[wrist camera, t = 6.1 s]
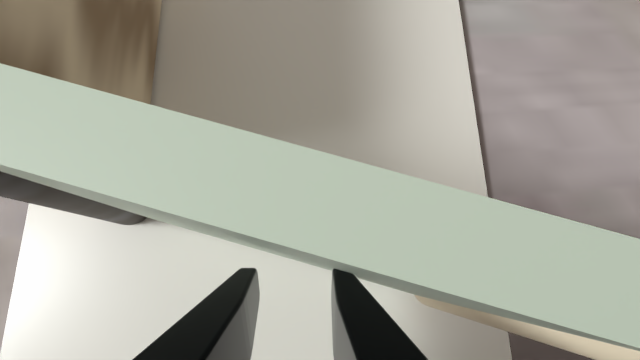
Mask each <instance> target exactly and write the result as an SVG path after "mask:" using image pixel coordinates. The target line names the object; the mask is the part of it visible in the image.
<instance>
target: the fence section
mask: <svg viewBox="0 0 640 360" xmlns="http://www.w3.org/2000/svg"><path fill="white" fill-rule="evenodd" d="M161 4H162V0H0V63H1V64H5V65H8V66H12V67H16V68H19V69H23V70H27V71H30V72H34V73H38V74H41V75H45V76H48V77H52V78H56V79H59V80H63V81H67V82H70V83H74V84H78V85H81V86H85V87H89V88H92V89H96V90H99V91H103V92H107V93H110V94H114V95H118V96H121V97H125V98H129V99H132V100H136V101H139V102H143V103H147V104H151V95H152V86H153V77H154V68H155V59H156V50H157V41H158V32H159V22H160V13H161ZM0 196H1V197H5V198H10V199H14V200H18V201H23V202H27V203H31V204H35V205H40V206H44V207H48V208H53V209H57V210H61V211H66V212H70V213H74V214H78V215H83V216H87V217H91V218H96V219H100V220H104V221H109V222H113V223H117V224H122V225H134V224H137V223H140V222H142V221H143V220H145V219H146V218H148V217H145V216H141V215H138V214H135V213H132V212H129V211H125V210H122V209H119V208H116V207H113V206H110V205H106V204H103V203H100V202H97V201H94V200H90V199H87V198H84V197H81V196H78V195H74V194H71V193H68V192H65V191H62V190H59V189H55V188H52V187H49V186H46V185H43V184H39V183H36V182H33V181H30V180H27V179H23V178H20V177H17V176H14V175H11V174H8V173H4V172H1V171H0Z"/></svg>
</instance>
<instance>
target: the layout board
mask: <svg viewBox="0 0 640 360" xmlns="http://www.w3.org/2000/svg"><path fill="white" fill-rule="evenodd" d="M150 105H154V106H158V107H161V108H165V109H169V110H172V111H176V112H179V113H183V114H187V115H190V116H194V117H198V118H201V119H205V120H209V121H212V122H216V123H220V124H223V125H227V126H230V127H234V128H238V129H241V130H245V131H249V132H252V133H256V134H260V135H263V136H267V137H270V138H274V139H278V140H281V141H285V142H289V143H292V144H296V145H300V146H303V147H307V148H310V149H314V150H318V151H321V152H325V153H329V154H332V155H336V156H340V157H343V158H347V159H351V160H354V161H358V162H361V163H365V164H369V165H372V166H376V167H380V168H383V169H387V170H391V171H394V172H398V173H401V174H405V175H409V176H412V177H416V178H420V179H423V180H427V181H431V182H434V183H438V184H441V185H445V186H449V187H452V188H456V189H460V190H463V191H467V192H471V193H474V194H478V195H481V196H485V197H488V195H487V188H486V181H485V174H484V168H483V161H482V154H481V148H480V141H479V134H478V127H477V121H476V114H475V107H474V101H473V94H472V87H471V80H470V74H469V67H468V60H467V54H466V47H465V40H464V33H463V27H462V20H461V13H460V7H459V0H162V4H161V13H160V22H159V32H158V41H157V50H156V59H155V68H154V77H153V86H152V95H151V104H150ZM240 268H256V269H257V272H258V281H259V290H260V300H259V308H258V315H257V322H256V329H255V336H254V343H253V349H252V355H251V359H250V360H334V356H333V339H332V309H331V285H332V271H331V270H327V269H324V268H320V267H317V266H313V265H310V264H307V263H303V262H300V261H296V260H293V259H289V258H286V257H282V256H279V255H275V254H272V253H268V252H265V251H262V250H258V249H255V248H251V247H248V246H244V245H241V244H237V243H234V242H230V241H227V240H223V239H220V238H217V237H213V236H210V235H206V234H203V233H199V232H196V231H192V230H189V229H185V228H182V227H178V226H175V225H172V224H168V223H165V222H161V221H158V220H154V219H151V218H146V219H145V220H143V221H142V222H140V223H137V224H134V225H122V224H117V223H113V222H109V221H104V220H100V219H96V218H91V217H87V216H83V215H78V214H74V213H70V212H66V211H61V210H57V209H53V208H48V207H44V206H40V205H35V204H31V203H29V206H28V212H27V217H26V222H25V227H24V232H23V238H22V243H21V248H20V253H19V258H18V264H17V269H16V274H15V279H14V285H13V290H12V295H11V300H10V305H9V311H8V316H7V321H6V326H5V331H4V337H3V342H2V347H1V352H0V360H132V359H133V358H135V357H136V356H137V355H138V354H139V353H141V352H142V351H143V350H144V349H145V348H146V347H148V346H149V345H150V344H151V343H152V342H154V341H155V340H156V339H157V338H158V337H159V336H161V335H162V334H163V333H164V332H165V331H167V330H168V329H169V328H170V327H171V326H172V325H174V324H175V323H176V322H177V321H178V320H180V319H181V318H182V317H183V316H184V315H185V314H187V313H188V312H189V311H190V310H191V309H193V308H194V307H195V306H196V305H197V304H198V303H200V302H201V301H202V300H203V299H204V298H206V297H207V296H208V295H209V294H210V293H211V292H213V291H214V290H215V289H216V288H217V287H219V286H220V285H221V284H222V283H223V282H224V281H226V280H227V279H228V278H229V277H230V276H232V275H233V274H234V273H235V272H236V271H238V270H239V269H240ZM357 279H358V278H357ZM358 280H359V281H360V282H361V283H362V284H363V286H364V287H365V288H366V289H367V290H368V291H369V292H370V294H371V295H372V296H373V297H374V298H375V299H376V300H377V302H378V303H379V304H380V305H381V306H382V307H383V308H384V310H385V311H386V312H387V313H388V314H389V315H390V316H391V318H392V319H393V320H394V321H395V322H396V323H397V324H398V326H399V327H400V328H401V329H402V330H403V331H404V332H405V334H406V335H407V336H408V337H409V338H410V339H411V340H412V342H413V343H414V344H415V345H416V346H417V347H418V348H419V349H420V351H421V352H422V353H423V354H424V355H425V356H426V357H427V359H428V360H512V356H511V349H510V342H509V336H508V332H507V331H504V330H501V329H498V328H494V327H491V326H488V325H485V324H482V323H479V322H476V321H473V320H470V319H466V318H463V317H460V316H457V315H454V314H451V313H448V312H445V311H441V310H438V309H435V308H432V307H429V306H426V305H424V304H422V303H421V302H420V301H418V300H417V298H416V297H415V295H414V294H410V293H407V292H404V291H400V290H397V289H393V288H390V287H386V286H383V285H379V284H376V283H372V282H369V281H365V280H362V279H358Z"/></svg>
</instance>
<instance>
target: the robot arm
mask: <svg viewBox="0 0 640 360" xmlns="http://www.w3.org/2000/svg"><path fill="white" fill-rule="evenodd" d="M259 300H260V290H259V281H258V272H257V269H256V268H240V269H239V270H238V271H236V272H235V273H234V274H233V275H232V276H230V277H229V278H228V279H227V280H226V281H224V282H223V283H222V284H221V285H220V286H219V287H217V288H216V289H215V290H214V291H213V292H211V293H210V294H209V295H208V296H207V297H206V298H204V299H203V300H202V301H201V302H200V303H198V304H197V305H196V306H195V307H194V308H193V309H191V310H190V311H189V312H188V313H187V314H185V315H184V316H183V317H182V318H181V319H180V320H178V321H177V322H176V323H175V324H174V325H172V326H171V327H170V328H169V329H168V330H167V331H165V332H164V333H163V334H162V335H161V336H159V337H158V338H157V339H156V340H155V341H154V342H152V343H151V344H150V345H149V346H148V347H146V348H145V349H144V350H143V351H142V352H141V353H139V354H138V355H137V356H136V357H135V358H133V359H132V360H250V359H251V355H252V349H253V343H254V336H255V329H256V322H257V315H258V308H259ZM331 309H332V339H333V356H334V360H428V359H427V357H426V356H425V355H424V354H423V353H422V352H421V351H420V349H419V348H418V347H417V346H416V345H415V344H414V343H413V342H412V340H411V339H410V338H409V337H408V336H407V335H406V334H405V332H404V331H403V330H402V329H401V328H400V327H399V326H398V324H397V323H396V322H395V321H394V320H393V319H392V318H391V316H390V315H389V314H388V313H387V312H386V311H385V310H384V308H383V307H382V306H381V305H380V304H379V303H378V302H377V300H376V299H375V298H374V297H373V296H372V295H371V294H370V292H369V291H368V290H367V289H366V288H365V287H364V286H363V284H362V283H361V282H360V281H359V280H358V279H357V278H356V276H355V275H354V274H353V273H349V272H345V271H342V270H338V269H335V268H334V269H333V270H332V285H331Z"/></svg>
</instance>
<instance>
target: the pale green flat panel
mask: <svg viewBox="0 0 640 360" xmlns="http://www.w3.org/2000/svg"><path fill="white" fill-rule="evenodd" d="M0 171H1V172H4V173H8V174H11V175H14V176H17V177H20V178H23V179H27V180H30V181H33V182H36V183H39V184H43V185H46V186H49V187H52V188H55V189H59V190H62V191H65V192H68V193H71V194H74V195H78V196H81V197H84V198H87V199H90V200H94V201H97V202H100V203H103V204H106V205H110V206H113V207H116V208H119V209H122V210H125V211H129V212H132V213H135V214H138V215H141V216H145V217H148V218H151V219H154V220H158V221H161V222H165V223H168V224H172V225H175V226H178V227H182V228H185V229H189V230H192V231H196V232H199V233H203V234H206V235H210V236H213V237H217V238H220V239H223V240H227V241H230V242H234V243H237V244H241V245H244V246H248V247H251V248H255V249H258V250H262V251H265V252H268V253H272V254H275V255H279V256H282V257H286V258H289V259H293V260H296V261H300V262H303V263H307V264H310V265H313V266H317V267H320V268H324V269H327V270H331V271H332V270H333V269H334V268H335V269H338V270H342V271H345V272H349V273H353V274H354V275H355V276H356V278H358V279H362V280H365V281H369V282H372V283H376V284H379V285H383V286H386V287H390V288H393V289H397V290H400V291H404V292H407V293H410V294H414V295H415V297H416V298H417V300H418V301H420V302H421V303H422V304H424V305H426V306H429V307H432V308H435V309H438V310H441V311H445V312H448V313H451V314H454V315H457V316H460V317H463V318H466V319H470V320H473V321H476V322H479V323H482V324H485V325H488V326H491V327H494V328H498V329H501V330H504V331H507V332H510V333H513V334H516V335H519V336H523V337H526V338H529V339H532V340H535V341H538V342H541V343H544V344H548V345H551V346H554V347H557V348H560V349H563V350H566V351H569V352H573V353H576V354H579V355H582V356H585V357H588V358H591V359H594V360H640V239H638V238H634V237H631V236H627V235H623V234H620V233H616V232H612V231H609V230H605V229H602V228H598V227H594V226H591V225H587V224H583V223H580V222H576V221H572V220H569V219H565V218H562V217H558V216H554V215H551V214H547V213H543V212H540V211H536V210H532V209H529V208H525V207H522V206H518V205H514V204H511V203H507V202H503V201H500V200H496V199H492V198H489V197H485V196H481V195H478V194H474V193H471V192H467V191H463V190H460V189H456V188H452V187H449V186H445V185H441V184H438V183H434V182H431V181H427V180H423V179H420V178H416V177H412V176H409V175H405V174H401V173H398V172H394V171H391V170H387V169H383V168H380V167H376V166H372V165H369V164H365V163H361V162H358V161H354V160H351V159H347V158H343V157H340V156H336V155H332V154H329V153H325V152H321V151H318V150H314V149H310V148H307V147H303V146H300V145H296V144H292V143H289V142H285V141H281V140H278V139H274V138H270V137H267V136H263V135H260V134H256V133H252V132H249V131H245V130H241V129H238V128H234V127H230V126H227V125H223V124H220V123H216V122H212V121H209V120H205V119H201V118H198V117H194V116H190V115H187V114H183V113H179V112H176V111H172V110H169V109H165V108H161V107H158V106H154V105H150V104H147V103H143V102H139V101H136V100H132V99H129V98H125V97H121V96H118V95H114V94H110V93H107V92H103V91H99V90H96V89H92V88H89V87H85V86H81V85H78V84H74V83H70V82H67V81H63V80H59V79H56V78H52V77H48V76H45V75H41V74H38V73H34V72H30V71H27V70H23V69H19V68H16V67H12V66H8V65H5V64H1V63H0Z"/></svg>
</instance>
